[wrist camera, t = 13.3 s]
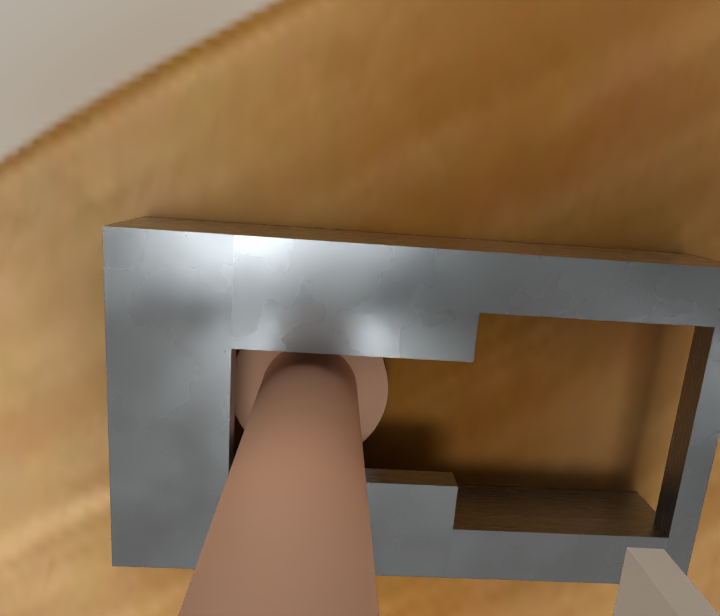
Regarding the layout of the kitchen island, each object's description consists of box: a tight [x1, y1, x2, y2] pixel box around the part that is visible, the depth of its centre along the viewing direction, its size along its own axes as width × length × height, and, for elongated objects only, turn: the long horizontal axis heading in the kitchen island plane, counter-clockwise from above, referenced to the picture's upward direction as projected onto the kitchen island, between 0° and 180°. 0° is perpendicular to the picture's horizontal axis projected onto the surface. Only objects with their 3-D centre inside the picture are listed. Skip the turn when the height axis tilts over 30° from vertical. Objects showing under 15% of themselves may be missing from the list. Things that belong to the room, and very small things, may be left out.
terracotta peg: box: [178, 349, 388, 616], centre depth 16 cm, size 6×6×15 cm
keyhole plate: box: [102, 217, 720, 584], centre depth 22 cm, size 21×12×4 cm, turn 86°
